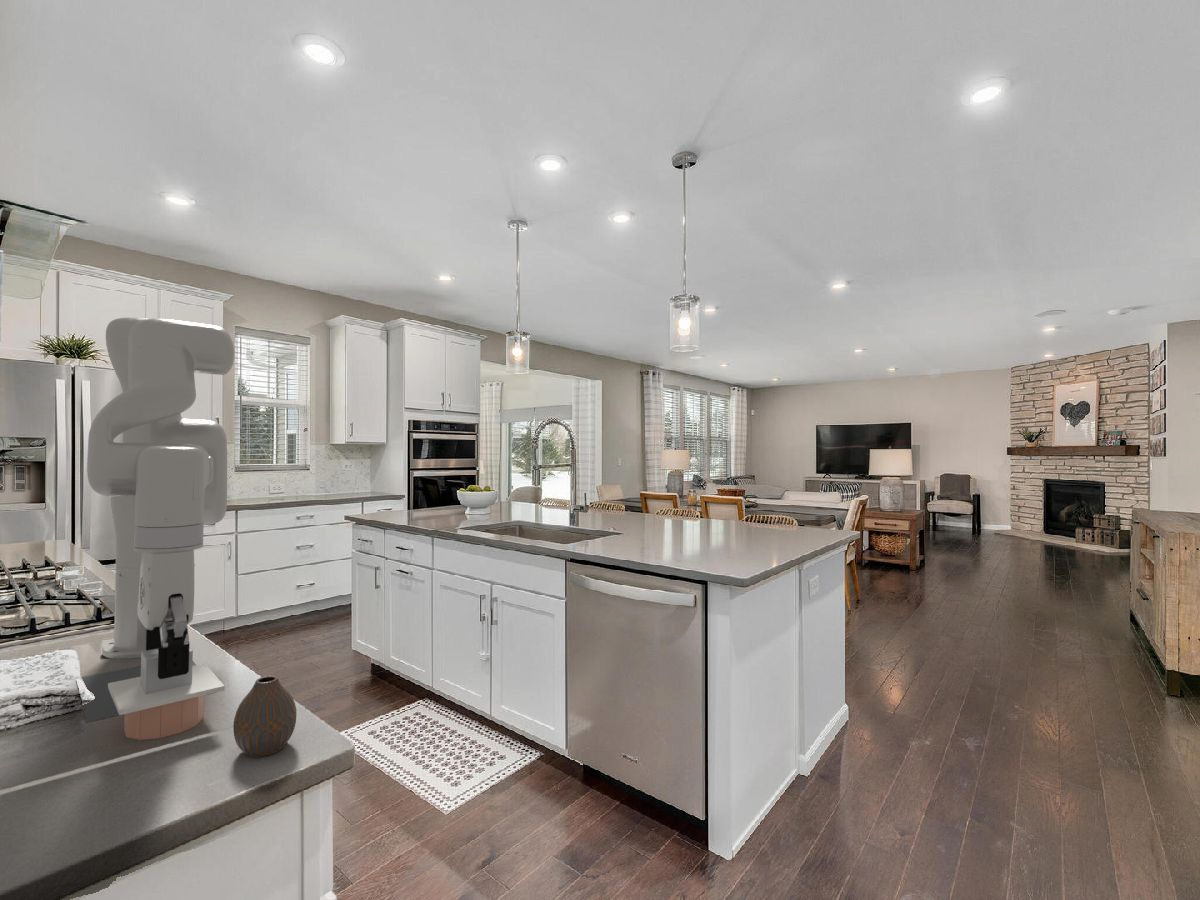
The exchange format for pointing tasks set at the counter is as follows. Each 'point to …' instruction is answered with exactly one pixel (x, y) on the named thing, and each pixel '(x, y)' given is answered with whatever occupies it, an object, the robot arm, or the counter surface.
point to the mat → (105, 692)
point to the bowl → (164, 719)
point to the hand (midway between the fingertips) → (166, 665)
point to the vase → (265, 718)
